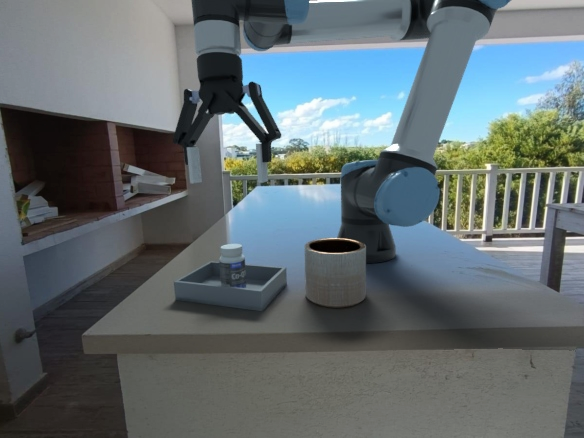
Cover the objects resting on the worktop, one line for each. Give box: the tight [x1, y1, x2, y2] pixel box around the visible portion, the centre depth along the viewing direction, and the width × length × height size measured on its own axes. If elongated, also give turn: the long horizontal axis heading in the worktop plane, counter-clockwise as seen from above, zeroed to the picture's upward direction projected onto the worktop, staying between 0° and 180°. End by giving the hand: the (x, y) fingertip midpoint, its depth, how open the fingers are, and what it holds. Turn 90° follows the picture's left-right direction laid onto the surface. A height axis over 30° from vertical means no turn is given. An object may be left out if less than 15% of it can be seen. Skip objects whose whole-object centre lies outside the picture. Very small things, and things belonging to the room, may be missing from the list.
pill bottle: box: [218, 243, 246, 288], centre depth 63 cm, size 5×5×8 cm
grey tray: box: [173, 260, 288, 312], centre depth 64 cm, size 17×12×4 cm
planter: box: [304, 237, 367, 309], centre depth 60 cm, size 11×11×10 cm
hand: (228, 182), depth 61 cm, fingers open, 13 cm apart
